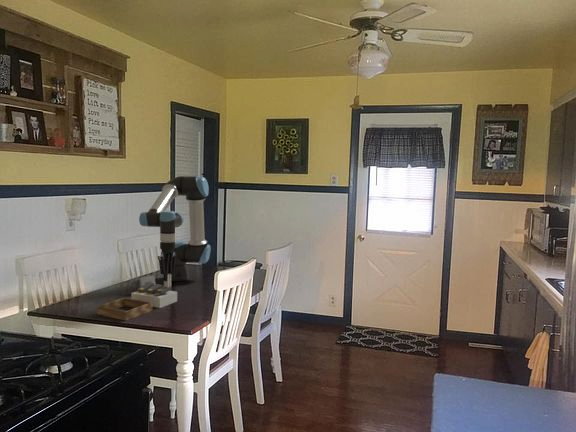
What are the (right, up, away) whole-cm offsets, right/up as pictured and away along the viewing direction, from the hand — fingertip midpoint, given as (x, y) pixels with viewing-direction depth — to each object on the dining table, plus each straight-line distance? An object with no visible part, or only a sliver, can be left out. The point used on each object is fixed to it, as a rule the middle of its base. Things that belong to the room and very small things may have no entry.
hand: (167, 286), depth 248 cm
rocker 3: (-1, -1, -3) cm, 4 cm away
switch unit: (-7, -8, 0) cm, 10 cm away
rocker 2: (-6, -1, -1) cm, 7 cm away
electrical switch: (-16, -6, +18) cm, 25 cm away
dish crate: (-15, -9, -19) cm, 26 cm away
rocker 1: (-12, -1, +1) cm, 12 cm away
